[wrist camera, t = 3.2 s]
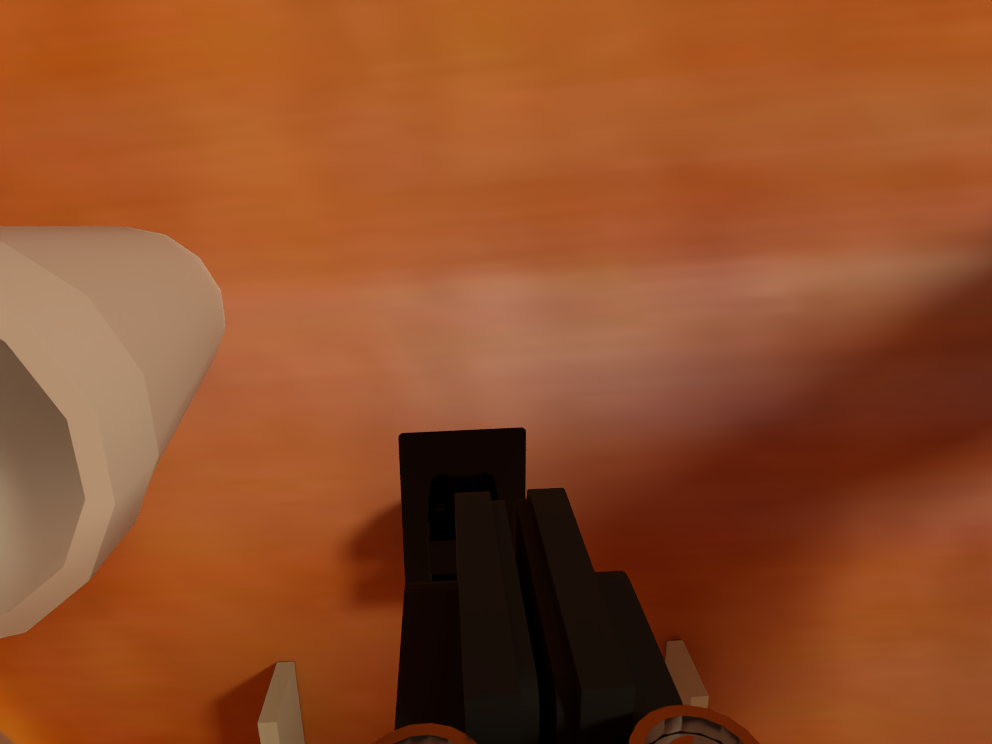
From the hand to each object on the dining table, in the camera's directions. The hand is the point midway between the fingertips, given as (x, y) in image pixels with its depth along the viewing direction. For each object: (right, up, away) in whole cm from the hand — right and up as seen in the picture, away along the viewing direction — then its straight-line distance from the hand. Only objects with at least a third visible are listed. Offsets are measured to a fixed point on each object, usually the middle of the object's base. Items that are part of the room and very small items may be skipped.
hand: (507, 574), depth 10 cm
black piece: (-2, -3, +21) cm, 21 cm away
